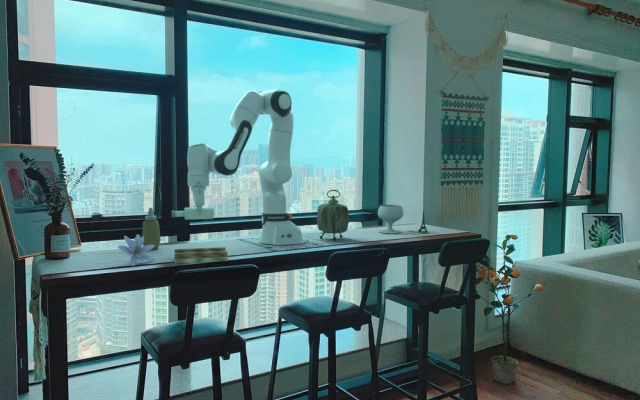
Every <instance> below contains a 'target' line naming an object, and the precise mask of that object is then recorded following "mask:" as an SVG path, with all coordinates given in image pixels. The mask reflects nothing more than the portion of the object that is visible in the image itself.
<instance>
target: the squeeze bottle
mask: <svg viewBox="0 0 640 400" xmlns="http://www.w3.org/2000/svg"><path fill="white" fill-rule="evenodd" d="M153 210H154V209H153V207H148V212H147V215H146V216H144V221H142V230H141V231H142V232H141V237H142V236H144V242H143V245H142V246H146V245H155V246H154V247H153V248H152V249H151V250H156V249H159V246H160V243H161V241H162V238H161V233H160V224H159V222H160V221H158V220H157V215H154V211H153Z"/></svg>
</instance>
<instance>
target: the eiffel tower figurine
mask: <svg viewBox="0 0 640 400" xmlns="http://www.w3.org/2000/svg"><path fill="white" fill-rule="evenodd" d="M419 227H420V228H419V229H418V230H417V231H416V232H415V231H414V233H416V234H422V235H431V233H430V232H429V231H428V230H427V226H426V223H425V211H424V210H423V212H422V221H421V224H420V226H419ZM408 232H410V233H413V231H412V230H408ZM433 234H436V232H433Z"/></svg>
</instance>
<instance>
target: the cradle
mask: <svg viewBox="0 0 640 400" xmlns="http://www.w3.org/2000/svg"><path fill="white" fill-rule="evenodd" d="M228 261H229V257H228V250H226V246H221V247H220V246H219V247H218V246H217V247H216V246H215V247H198V248H195V247H194V248H193V247H192V248H175V249H174V264H190V263H211V262H215V263H216V262H228Z"/></svg>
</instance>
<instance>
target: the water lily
mask: <svg viewBox="0 0 640 400" xmlns="http://www.w3.org/2000/svg"><path fill="white" fill-rule="evenodd" d="M123 237H124V241H125V244H126V245H123V244H122V245H118V246H117V248H118V249H119V250H120V251H122V252H124V253H125V254H126V255H129V256H131V258H130V265H131V266H132V267H134V266H136V265H137V263H138V261H140V262H142V263H143V264H144V263H145V260H147V261H148V262H152V263H153V262H156V259H155V258H154V257H153V256H151V255H150V254H149V253H148V251H150V250H153V249H152V248H153V247H154V246H155V245H146V246H143V242H144V236H142V235H140V234H136V236H135V237H134V240H133V239H131V238H130V237H128V236H127V235H123Z"/></svg>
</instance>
